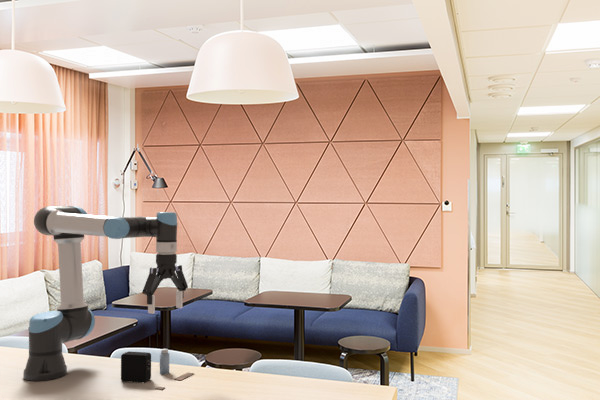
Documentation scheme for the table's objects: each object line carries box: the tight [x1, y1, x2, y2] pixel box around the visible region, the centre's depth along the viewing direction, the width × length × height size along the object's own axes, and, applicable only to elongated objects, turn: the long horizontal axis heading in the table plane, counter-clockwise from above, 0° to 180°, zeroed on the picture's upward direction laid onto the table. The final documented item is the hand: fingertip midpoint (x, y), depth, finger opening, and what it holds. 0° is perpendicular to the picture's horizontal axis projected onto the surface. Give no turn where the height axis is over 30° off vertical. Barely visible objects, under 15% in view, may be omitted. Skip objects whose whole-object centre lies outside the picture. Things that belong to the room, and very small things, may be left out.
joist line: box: [154, 372, 195, 391], centre depth 205 cm, size 3×20×1 cm, turn 158°
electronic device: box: [120, 351, 152, 384], centre depth 206 cm, size 4×10×10 cm, turn 78°
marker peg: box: [159, 348, 170, 375], centre depth 216 cm, size 4×4×9 cm
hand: (165, 310), depth 207 cm, fingers open, 13 cm apart
